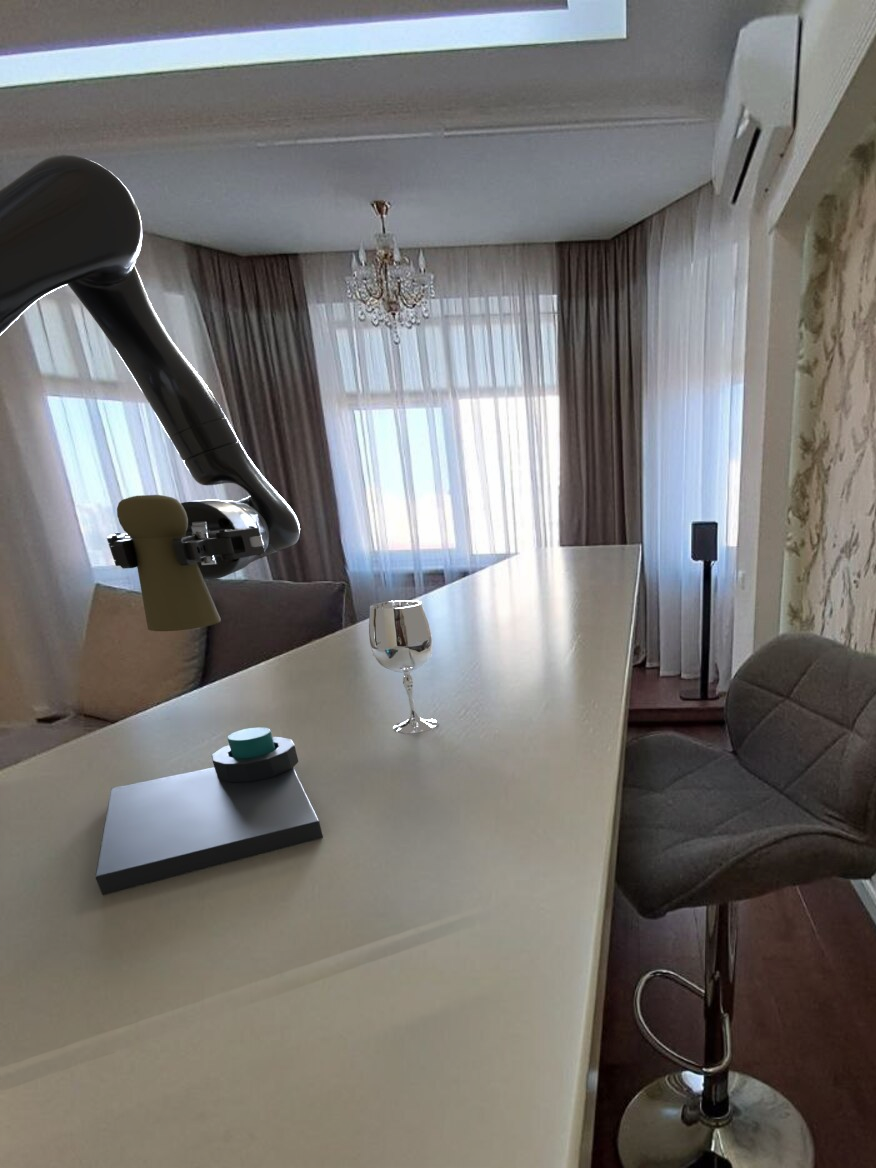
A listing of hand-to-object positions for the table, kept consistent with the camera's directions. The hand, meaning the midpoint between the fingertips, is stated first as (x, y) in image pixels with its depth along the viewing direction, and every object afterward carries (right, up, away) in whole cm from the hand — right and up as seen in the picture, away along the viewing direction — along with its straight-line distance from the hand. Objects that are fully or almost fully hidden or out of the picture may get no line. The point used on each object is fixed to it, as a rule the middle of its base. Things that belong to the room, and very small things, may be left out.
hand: (151, 553), depth 58 cm
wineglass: (+20, -14, +11) cm, 26 cm away
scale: (+9, -23, -7) cm, 26 cm away
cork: (0, -5, +5) cm, 7 cm away
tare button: (+10, -17, -2) cm, 20 cm away
